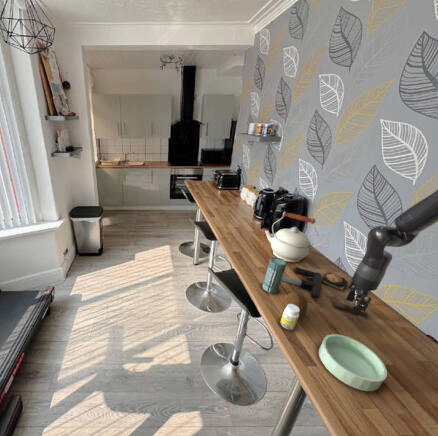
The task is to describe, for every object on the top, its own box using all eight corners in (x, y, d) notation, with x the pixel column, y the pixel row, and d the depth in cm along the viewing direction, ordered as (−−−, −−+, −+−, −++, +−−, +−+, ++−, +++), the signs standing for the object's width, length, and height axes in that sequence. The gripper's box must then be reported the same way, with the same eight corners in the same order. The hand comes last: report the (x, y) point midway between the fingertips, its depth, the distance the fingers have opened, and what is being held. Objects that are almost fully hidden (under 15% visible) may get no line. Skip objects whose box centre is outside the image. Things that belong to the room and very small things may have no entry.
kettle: (311, 256, 133) (326, 216, 123) (305, 270, 120) (321, 226, 110) (265, 241, 148) (275, 204, 138) (255, 252, 135) (266, 212, 125)
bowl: (371, 357, 77) (377, 347, 75) (388, 402, 65) (395, 392, 63) (316, 336, 84) (320, 327, 82) (321, 373, 71) (326, 364, 69)
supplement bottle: (290, 320, 90) (296, 303, 87) (297, 330, 86) (304, 313, 82) (277, 319, 90) (283, 302, 87) (283, 329, 86) (290, 312, 82)
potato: (282, 318, 91) (288, 303, 88) (280, 298, 101) (285, 283, 98) (306, 326, 88) (313, 310, 85) (302, 304, 98) (308, 289, 95)
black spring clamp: (280, 281, 107) (323, 296, 98) (287, 262, 122) (325, 273, 113) (278, 287, 108) (321, 302, 99) (285, 268, 123) (323, 279, 114)
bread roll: (343, 291, 106) (346, 285, 105) (321, 282, 112) (324, 276, 110) (347, 281, 113) (350, 275, 112) (326, 273, 119) (329, 267, 117)
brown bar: (363, 312, 95) (365, 309, 94) (365, 317, 93) (367, 314, 92) (333, 303, 99) (335, 300, 99) (334, 307, 97) (336, 304, 96)
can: (280, 291, 105) (289, 263, 99) (271, 295, 103) (280, 266, 96) (268, 283, 110) (276, 255, 104) (259, 286, 107) (267, 258, 101)
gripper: (388, 289, 81) (368, 323, 88) (375, 268, 93) (358, 299, 99) (361, 281, 84) (343, 315, 91) (351, 262, 96) (337, 293, 102)
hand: (351, 307), depth 95 cm, fingers open, 8 cm apart
